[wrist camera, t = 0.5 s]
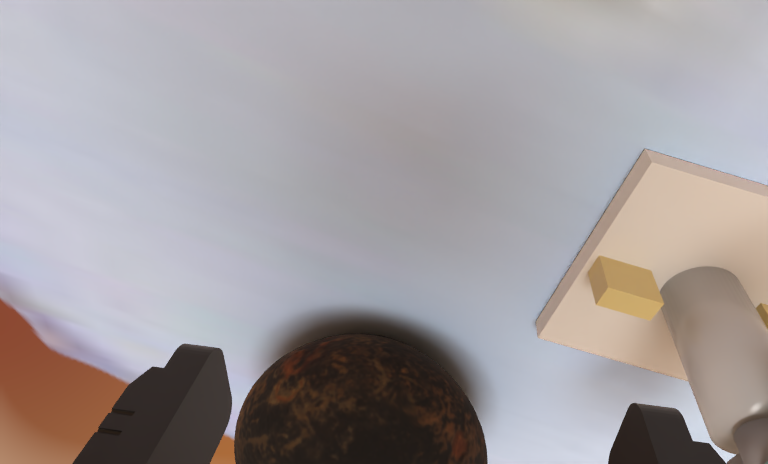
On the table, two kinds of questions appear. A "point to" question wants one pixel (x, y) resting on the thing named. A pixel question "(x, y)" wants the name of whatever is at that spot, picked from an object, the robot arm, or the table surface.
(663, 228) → the post base
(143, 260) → the table surface
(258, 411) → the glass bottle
